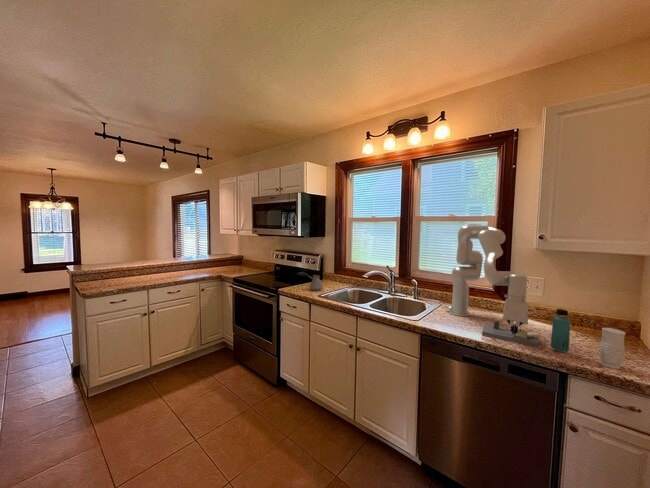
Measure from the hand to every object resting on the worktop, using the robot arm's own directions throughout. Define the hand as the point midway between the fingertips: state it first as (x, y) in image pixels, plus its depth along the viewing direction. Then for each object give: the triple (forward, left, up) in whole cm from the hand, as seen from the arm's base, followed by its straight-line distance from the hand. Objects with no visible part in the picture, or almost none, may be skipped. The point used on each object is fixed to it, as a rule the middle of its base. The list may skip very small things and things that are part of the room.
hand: (513, 333), depth 135 cm
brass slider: (+3, 0, -1) cm, 4 cm away
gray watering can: (-147, +21, -4) cm, 148 cm away
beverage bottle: (+17, -4, -4) cm, 18 cm away
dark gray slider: (-8, +7, -1) cm, 11 cm away
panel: (-2, +4, -3) cm, 5 cm away
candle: (+33, -7, -4) cm, 34 cm away
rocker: (+8, +3, 0) cm, 9 cm away
